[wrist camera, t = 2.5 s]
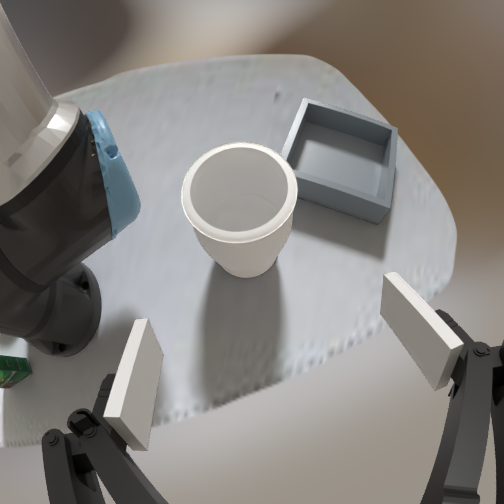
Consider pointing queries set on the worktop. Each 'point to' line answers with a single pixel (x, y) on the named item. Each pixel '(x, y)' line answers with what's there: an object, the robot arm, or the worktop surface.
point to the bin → (342, 160)
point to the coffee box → (13, 370)
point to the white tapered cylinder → (241, 205)
